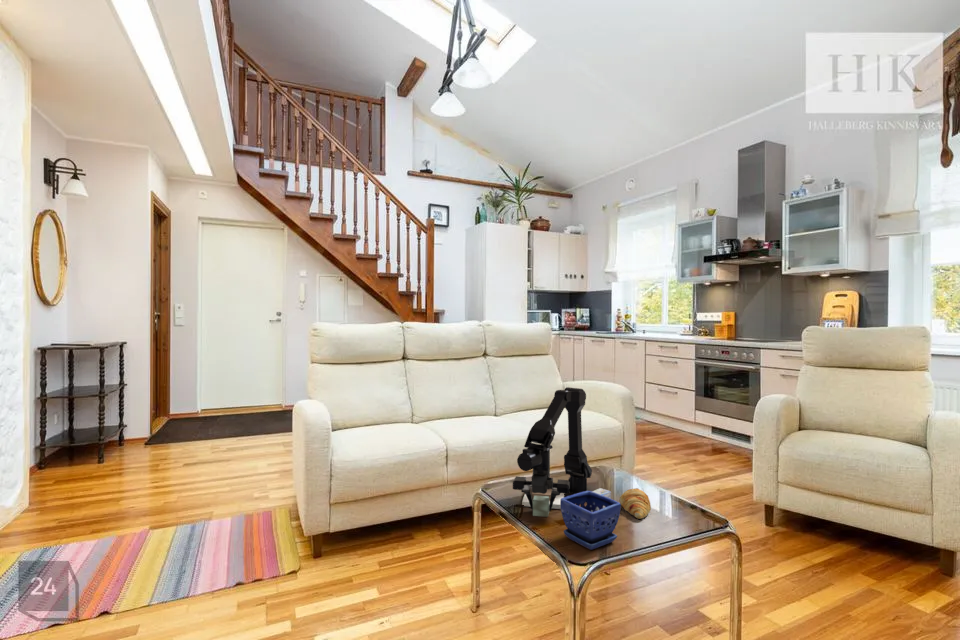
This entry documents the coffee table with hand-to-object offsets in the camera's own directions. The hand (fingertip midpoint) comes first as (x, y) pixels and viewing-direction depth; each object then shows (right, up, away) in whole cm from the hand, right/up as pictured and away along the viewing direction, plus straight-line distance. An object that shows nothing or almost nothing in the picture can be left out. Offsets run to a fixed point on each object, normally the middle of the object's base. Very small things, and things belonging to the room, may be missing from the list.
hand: (541, 510), depth 165 cm
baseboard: (+3, -1, +12) cm, 12 cm away
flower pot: (+12, -1, -20) cm, 23 cm away
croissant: (+33, -2, +4) cm, 33 cm away
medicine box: (+19, -1, -4) cm, 19 cm away
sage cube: (0, -1, 0) cm, 1 cm away
